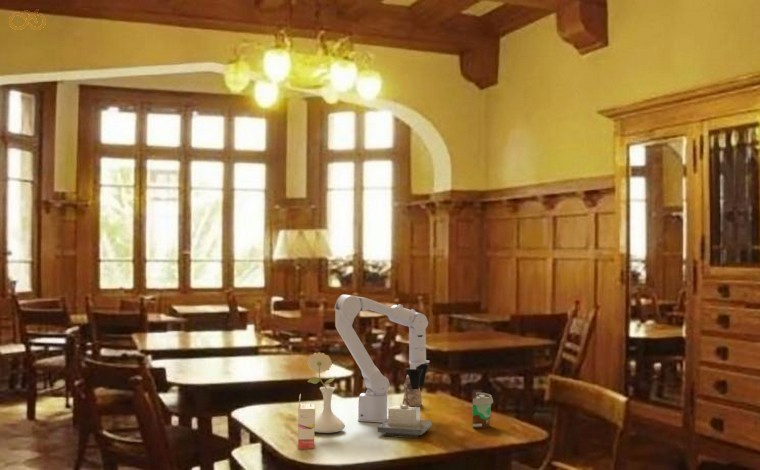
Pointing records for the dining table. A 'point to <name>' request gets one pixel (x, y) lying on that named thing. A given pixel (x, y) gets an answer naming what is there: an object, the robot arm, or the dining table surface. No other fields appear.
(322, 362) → the flower in vase
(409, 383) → the figurine
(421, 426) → the stand
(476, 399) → the food container
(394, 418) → the block
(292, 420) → the dining table surface
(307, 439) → the juice box
